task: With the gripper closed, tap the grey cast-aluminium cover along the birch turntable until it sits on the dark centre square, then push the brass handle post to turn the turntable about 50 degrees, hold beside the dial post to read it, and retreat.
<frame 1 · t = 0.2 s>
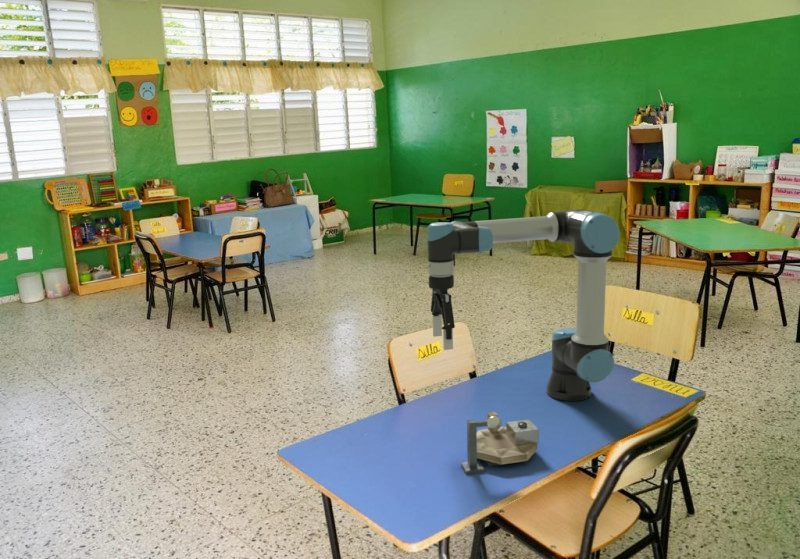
hand: (442, 342, 205), 28 cm above the table, fingers open, 13 cm apart
cover: (522, 438, 192), point 4 cm above the table, touching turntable
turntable: (502, 436, 190), point 5 cm above the table, hinge at 0.0°, touching cover
dial post: (472, 468, 183), on the table
turntable base: (502, 453, 191), on the table
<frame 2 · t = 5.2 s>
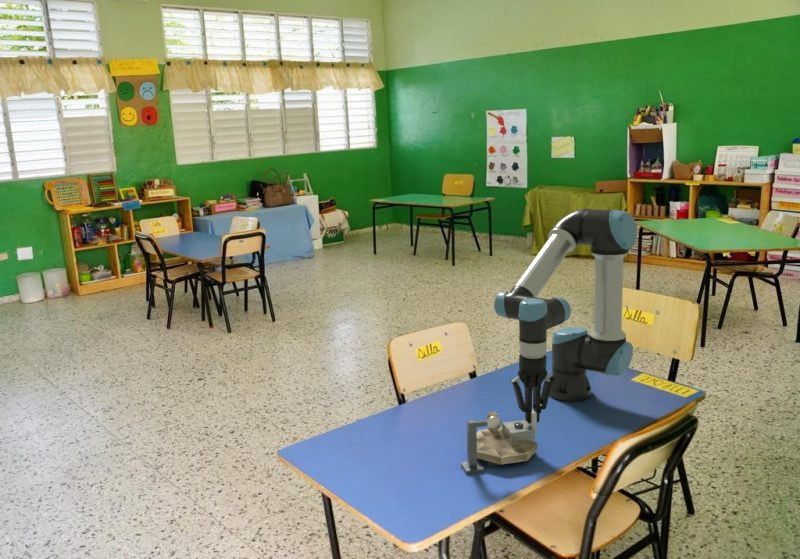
hand: (532, 432, 192), 5 cm above the table, fingers closed
cover: (518, 439, 191), point 4 cm above the table
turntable: (502, 436, 190), point 5 cm above the table, hinge at 0.0°
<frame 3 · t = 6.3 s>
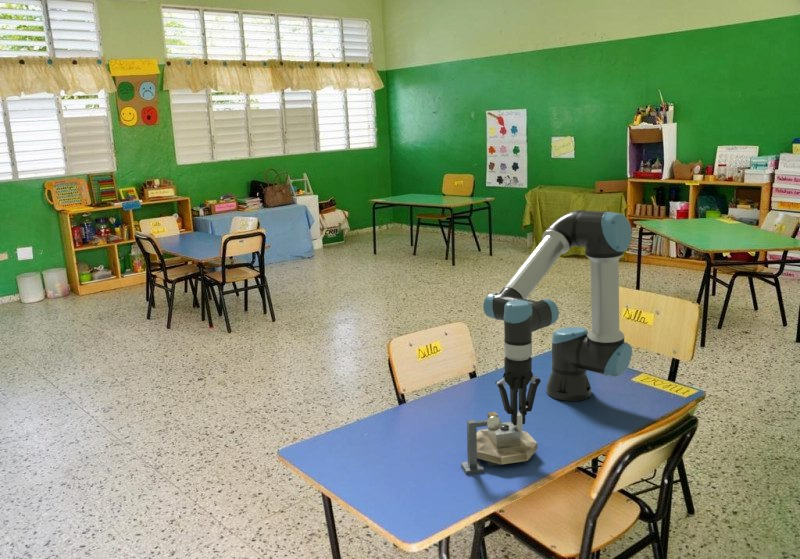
hand: (518, 434, 191), 5 cm above the table, fingers closed
cover: (504, 441, 191), point 4 cm above the table, touching gripper, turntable
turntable: (502, 436, 190), point 5 cm above the table, hinge at -0.2°, touching cover
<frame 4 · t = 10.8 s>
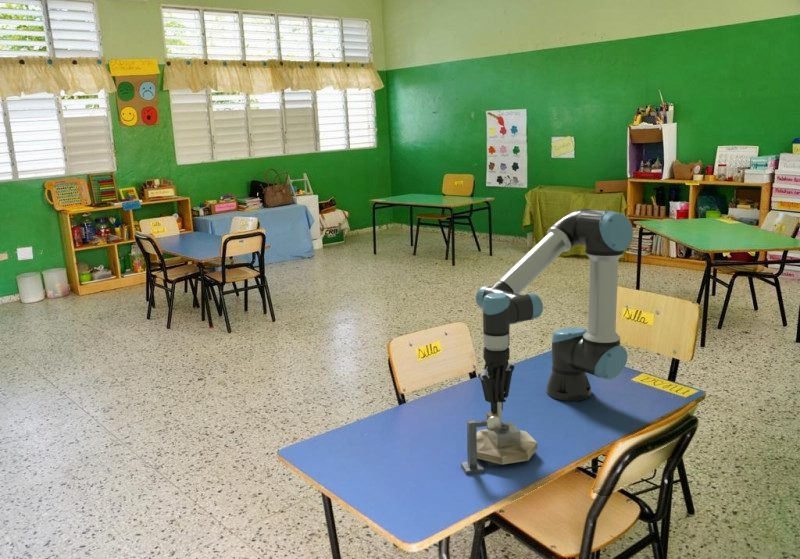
hand: (496, 421, 199), 6 cm above the table, fingers closed
cover: (504, 441, 191), point 4 cm above the table, touching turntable
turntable: (502, 436, 190), point 5 cm above the table, hinge at 1.7°, touching cover, gripper
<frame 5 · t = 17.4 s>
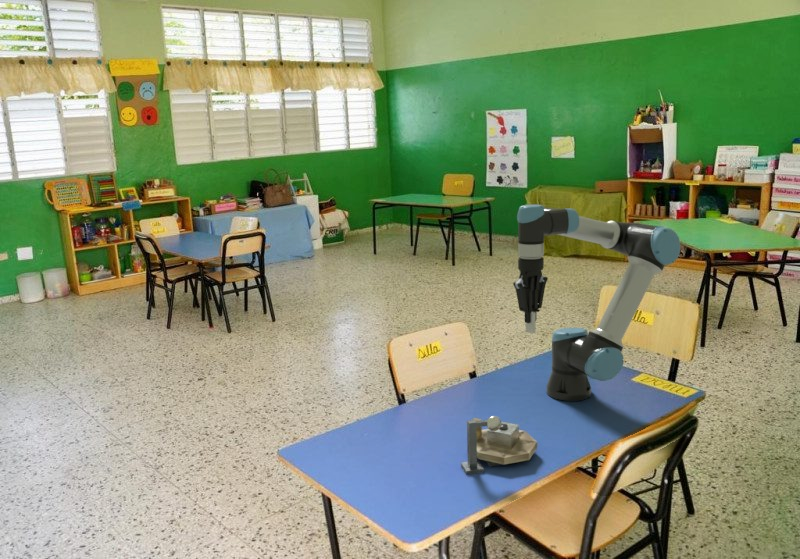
hand: (530, 332, 205), 29 cm above the table, fingers closed
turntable: (502, 436, 190), point 5 cm above the table, hinge at 49.4°, touching cover
at the end: cover 0.5 cm from the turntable (horizontally); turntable at +49° (first picture: +0°); cover tilted 0° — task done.
